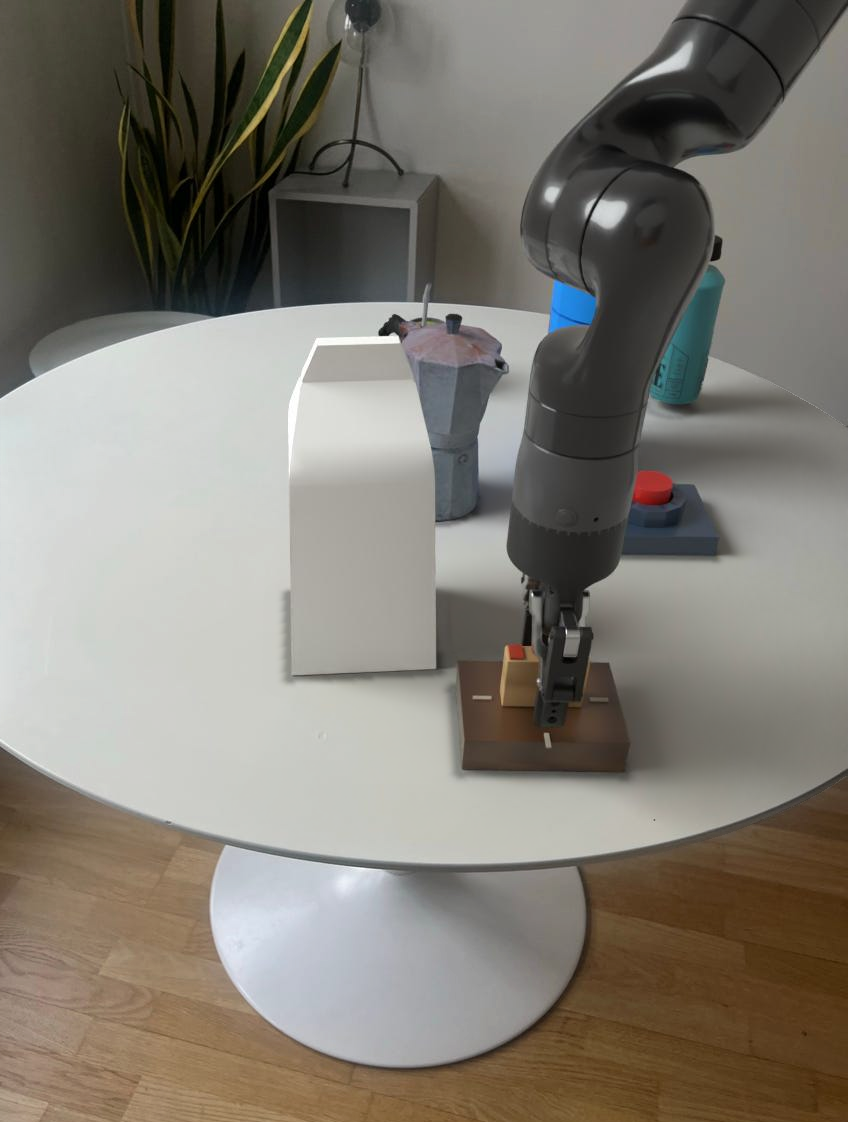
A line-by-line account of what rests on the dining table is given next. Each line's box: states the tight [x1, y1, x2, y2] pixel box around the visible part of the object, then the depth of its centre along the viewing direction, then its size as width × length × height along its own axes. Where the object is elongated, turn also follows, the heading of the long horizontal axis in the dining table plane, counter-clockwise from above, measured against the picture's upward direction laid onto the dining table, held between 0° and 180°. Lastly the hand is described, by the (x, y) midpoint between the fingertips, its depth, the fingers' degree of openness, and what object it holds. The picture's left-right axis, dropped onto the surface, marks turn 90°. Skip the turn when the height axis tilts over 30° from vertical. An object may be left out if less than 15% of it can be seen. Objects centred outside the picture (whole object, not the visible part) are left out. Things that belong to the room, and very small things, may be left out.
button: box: [632, 470, 674, 505], centre depth 94 cm, size 4×4×2 cm
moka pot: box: [377, 313, 510, 522], centre depth 95 cm, size 10×15×20 cm, turn 53°
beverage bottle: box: [649, 234, 726, 405], centre depth 112 cm, size 6×7×20 cm
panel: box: [455, 659, 632, 773], centre depth 74 cm, size 12×10×3 cm
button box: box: [621, 482, 720, 557], centre depth 96 cm, size 12×10×4 cm
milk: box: [287, 335, 437, 676], centre depth 76 cm, size 12×12×26 cm
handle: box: [500, 643, 591, 707], centre depth 71 cm, size 6×2×5 cm, turn 89°
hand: (541, 685), depth 72 cm, fingers open, 8 cm apart
